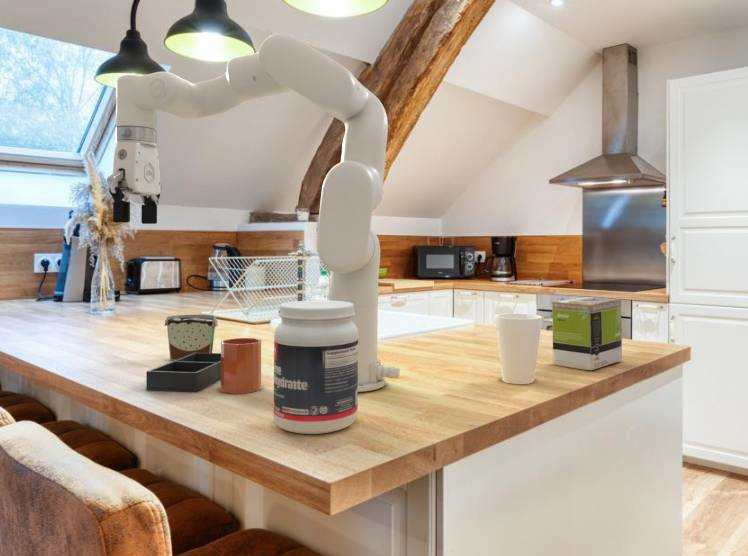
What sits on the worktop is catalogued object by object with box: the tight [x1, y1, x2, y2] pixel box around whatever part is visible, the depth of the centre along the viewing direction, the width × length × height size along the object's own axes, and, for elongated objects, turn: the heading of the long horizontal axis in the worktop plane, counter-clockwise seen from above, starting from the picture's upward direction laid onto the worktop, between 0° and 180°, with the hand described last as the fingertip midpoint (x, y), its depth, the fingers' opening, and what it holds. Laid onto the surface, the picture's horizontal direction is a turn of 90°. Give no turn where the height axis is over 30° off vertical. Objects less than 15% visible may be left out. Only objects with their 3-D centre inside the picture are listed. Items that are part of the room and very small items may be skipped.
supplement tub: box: [272, 300, 359, 435], centre depth 94 cm, size 13×13×18 cm
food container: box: [164, 314, 219, 362], centre depth 144 cm, size 12×6×10 cm, turn 84°
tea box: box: [551, 296, 623, 371], centre depth 142 cm, size 15×10×15 cm, turn 136°
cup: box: [220, 337, 262, 395], centre depth 116 cm, size 7×7×9 cm
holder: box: [145, 352, 221, 393], centre depth 123 cm, size 19×10×4 cm, turn 173°
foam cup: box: [494, 312, 543, 385], centre depth 124 cm, size 10×9×13 cm
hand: (135, 223), depth 124 cm, fingers open, 9 cm apart
